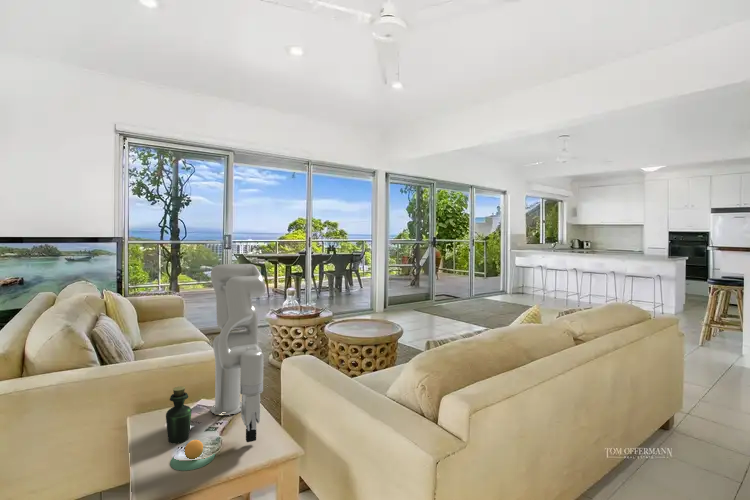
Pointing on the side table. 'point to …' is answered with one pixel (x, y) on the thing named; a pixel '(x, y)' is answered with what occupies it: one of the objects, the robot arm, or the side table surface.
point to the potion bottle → (178, 417)
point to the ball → (193, 449)
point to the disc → (190, 463)
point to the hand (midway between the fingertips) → (251, 440)
